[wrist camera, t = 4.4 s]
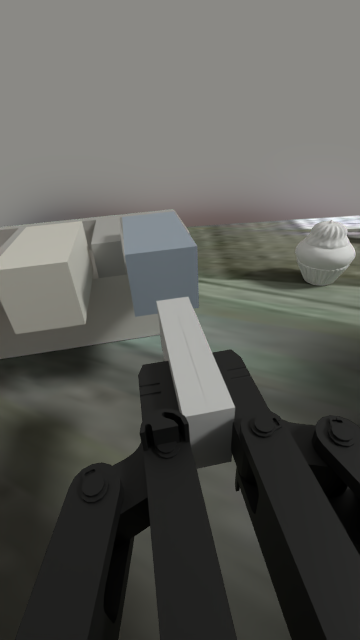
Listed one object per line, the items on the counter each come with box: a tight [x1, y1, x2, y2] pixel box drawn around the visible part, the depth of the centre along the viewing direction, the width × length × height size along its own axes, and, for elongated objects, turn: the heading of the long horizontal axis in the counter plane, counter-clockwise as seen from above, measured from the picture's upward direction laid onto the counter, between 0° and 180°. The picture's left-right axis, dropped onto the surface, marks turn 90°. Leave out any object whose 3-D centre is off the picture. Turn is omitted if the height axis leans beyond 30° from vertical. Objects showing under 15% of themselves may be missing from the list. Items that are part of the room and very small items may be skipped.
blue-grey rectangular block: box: [122, 211, 199, 317], centre depth 20 cm, size 4×8×4 cm, turn 11°
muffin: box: [295, 220, 355, 286], centre depth 33 cm, size 6×6×7 cm
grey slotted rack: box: [0, 209, 190, 359], centre depth 28 cm, size 20×8×9 cm, turn 100°
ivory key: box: [0, 221, 94, 334], centre depth 20 cm, size 4×8×4 cm, turn 10°
